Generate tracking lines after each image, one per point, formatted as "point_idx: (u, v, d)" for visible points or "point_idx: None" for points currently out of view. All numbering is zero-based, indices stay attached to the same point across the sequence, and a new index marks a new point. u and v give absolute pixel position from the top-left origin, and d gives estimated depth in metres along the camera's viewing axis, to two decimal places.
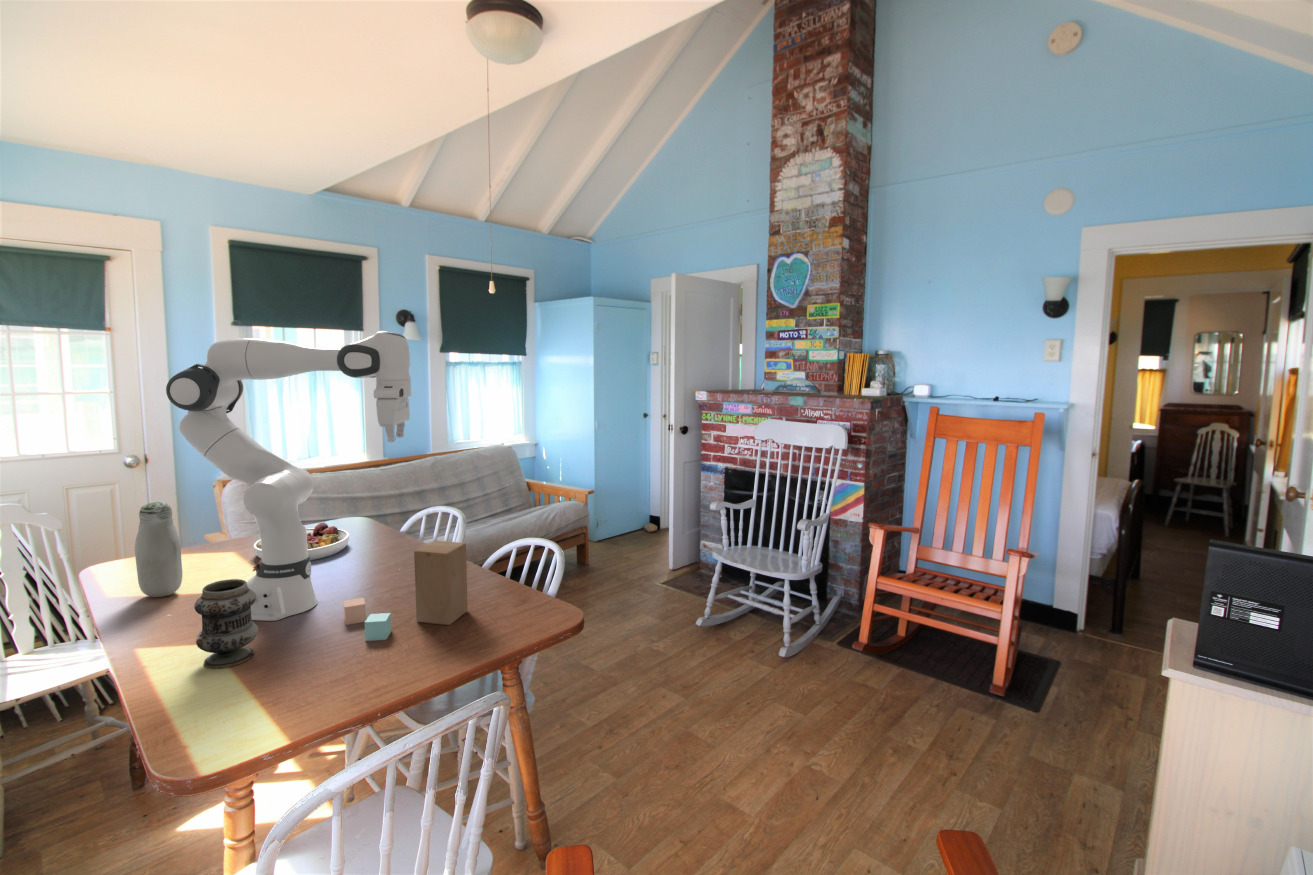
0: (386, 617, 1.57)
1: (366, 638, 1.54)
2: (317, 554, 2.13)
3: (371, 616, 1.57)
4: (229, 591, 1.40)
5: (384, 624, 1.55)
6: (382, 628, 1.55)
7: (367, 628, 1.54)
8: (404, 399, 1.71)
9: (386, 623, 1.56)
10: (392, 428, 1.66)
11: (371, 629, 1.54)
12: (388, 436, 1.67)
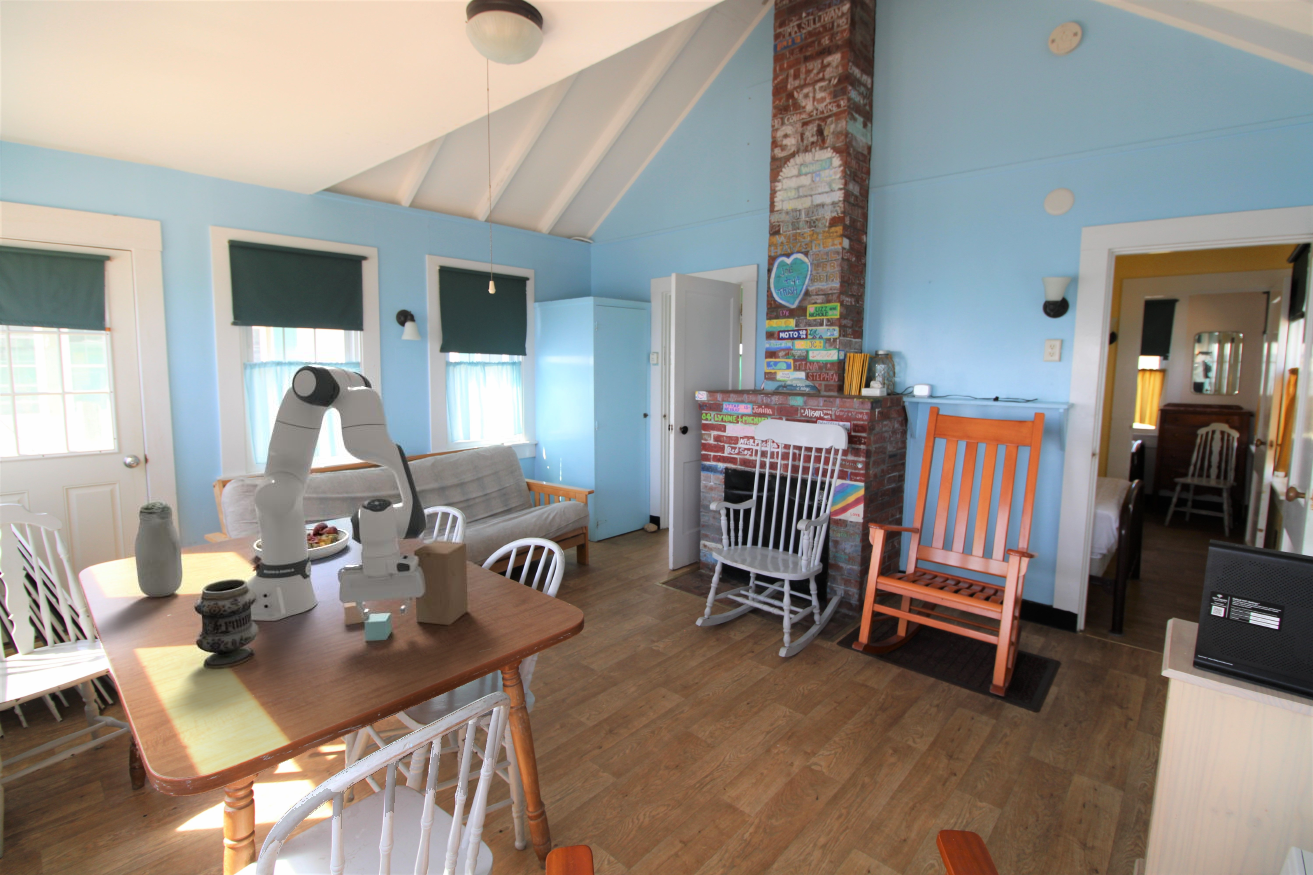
0: (386, 617, 1.57)
1: (366, 638, 1.54)
2: (317, 554, 2.13)
3: (371, 616, 1.57)
4: (229, 591, 1.40)
5: (384, 624, 1.55)
6: (382, 628, 1.55)
7: (367, 628, 1.54)
8: None
9: (386, 623, 1.56)
10: (411, 597, 1.60)
11: (371, 629, 1.54)
12: (407, 608, 1.58)
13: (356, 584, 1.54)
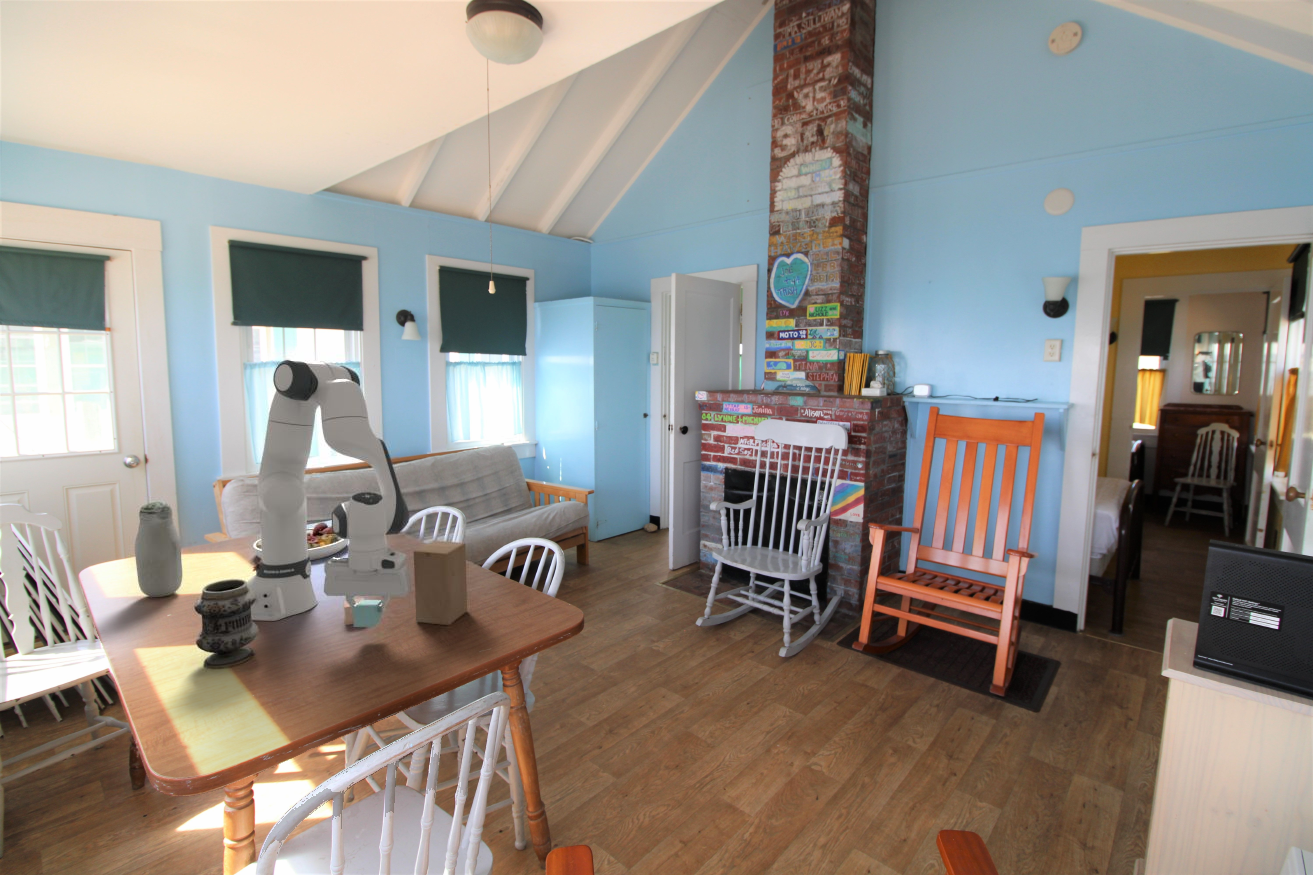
0: (376, 604, 1.54)
1: (354, 624, 1.52)
2: (317, 554, 2.13)
3: (361, 602, 1.55)
4: (229, 591, 1.40)
5: (373, 610, 1.52)
6: (371, 614, 1.52)
7: (356, 614, 1.51)
8: None
9: (375, 610, 1.53)
10: (390, 595, 1.55)
11: (360, 615, 1.52)
12: (384, 606, 1.54)
13: (341, 577, 1.51)
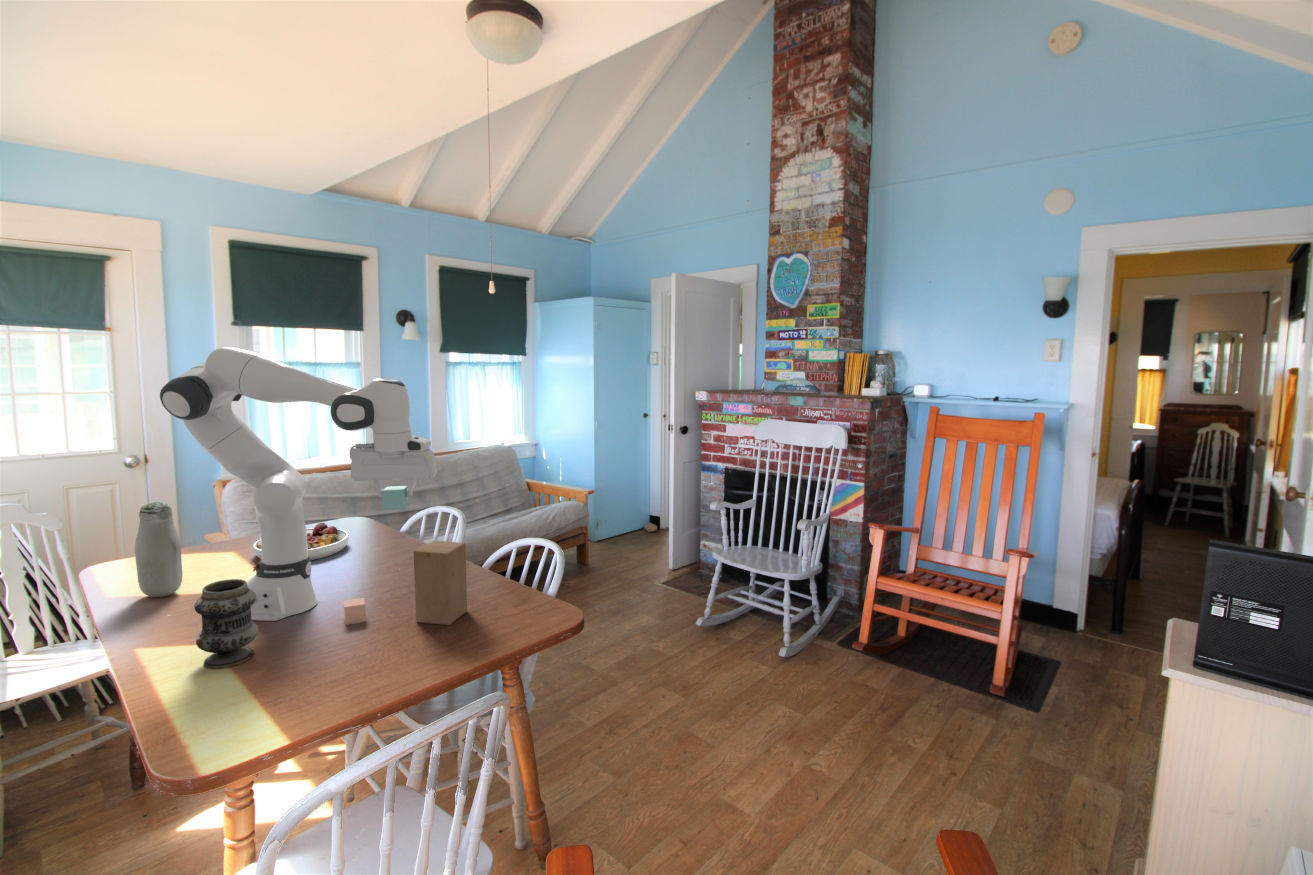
0: (403, 488, 1.56)
1: (383, 507, 1.54)
2: (317, 554, 2.13)
3: (388, 487, 1.57)
4: (229, 591, 1.40)
5: (401, 493, 1.54)
6: (399, 497, 1.54)
7: (384, 497, 1.53)
8: None
9: (403, 493, 1.55)
10: (416, 480, 1.58)
11: (388, 498, 1.54)
12: (411, 490, 1.56)
13: (367, 461, 1.53)
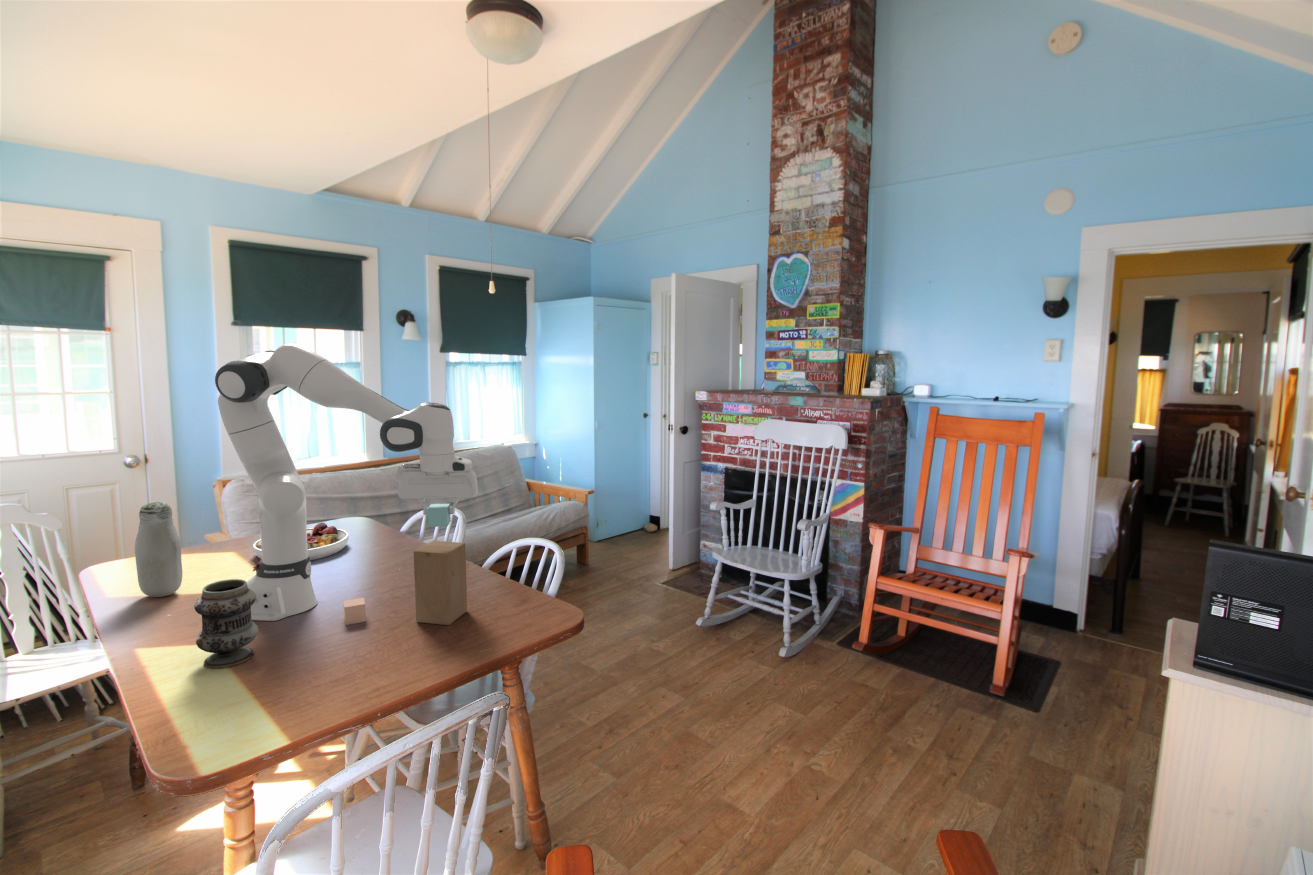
0: (446, 506, 1.65)
1: (428, 524, 1.63)
2: (317, 554, 2.13)
3: (432, 505, 1.66)
4: (229, 591, 1.40)
5: (445, 511, 1.63)
6: (443, 515, 1.63)
7: (429, 514, 1.63)
8: None
9: (447, 511, 1.64)
10: (458, 498, 1.67)
11: (433, 515, 1.63)
12: (454, 508, 1.66)
13: (414, 481, 1.62)
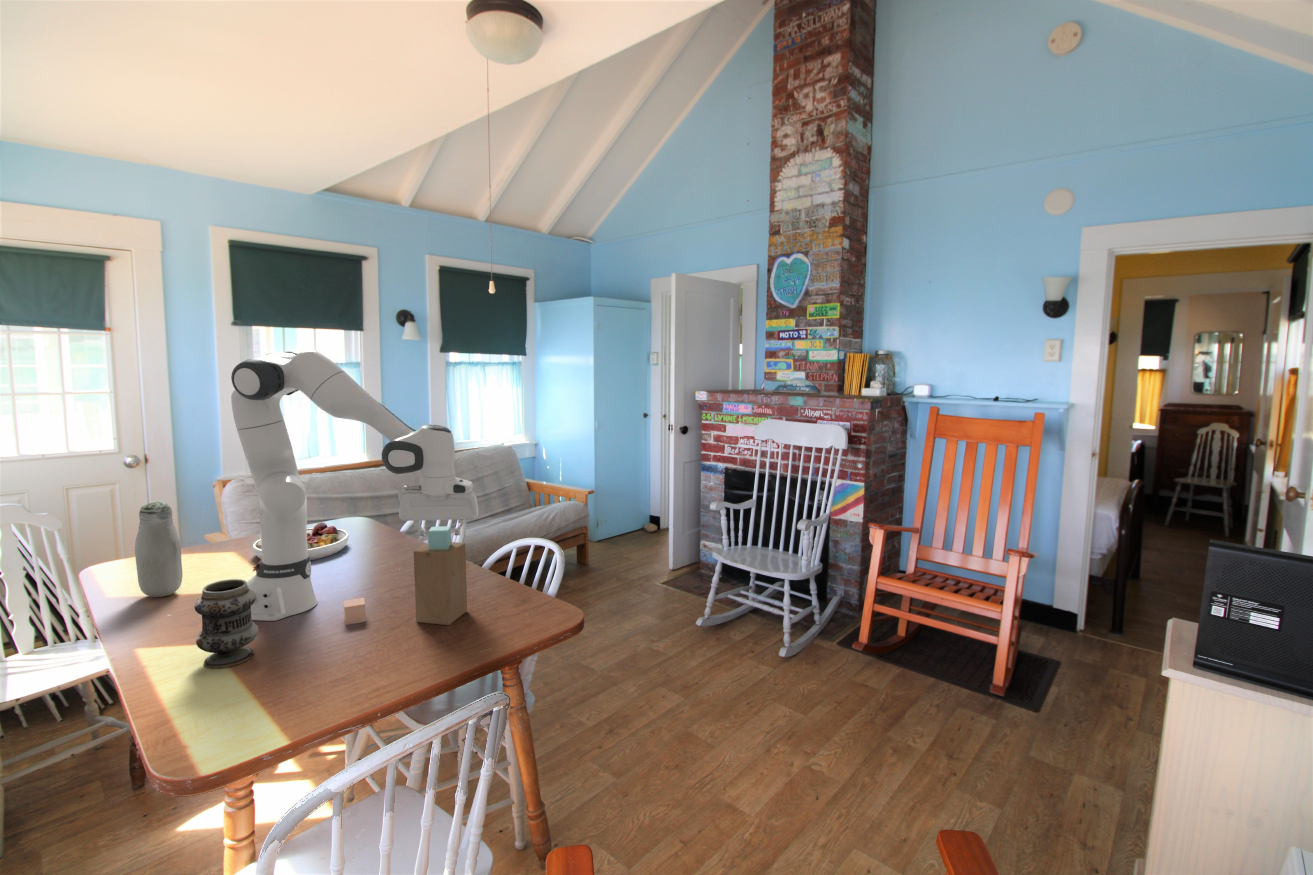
0: (447, 529, 1.66)
1: (429, 547, 1.64)
2: (317, 554, 2.13)
3: (433, 528, 1.66)
4: (229, 591, 1.40)
5: (446, 534, 1.64)
6: (444, 538, 1.64)
7: (430, 538, 1.63)
8: None
9: (448, 534, 1.65)
10: (464, 520, 1.68)
11: (434, 538, 1.64)
12: (460, 529, 1.67)
13: (415, 503, 1.63)
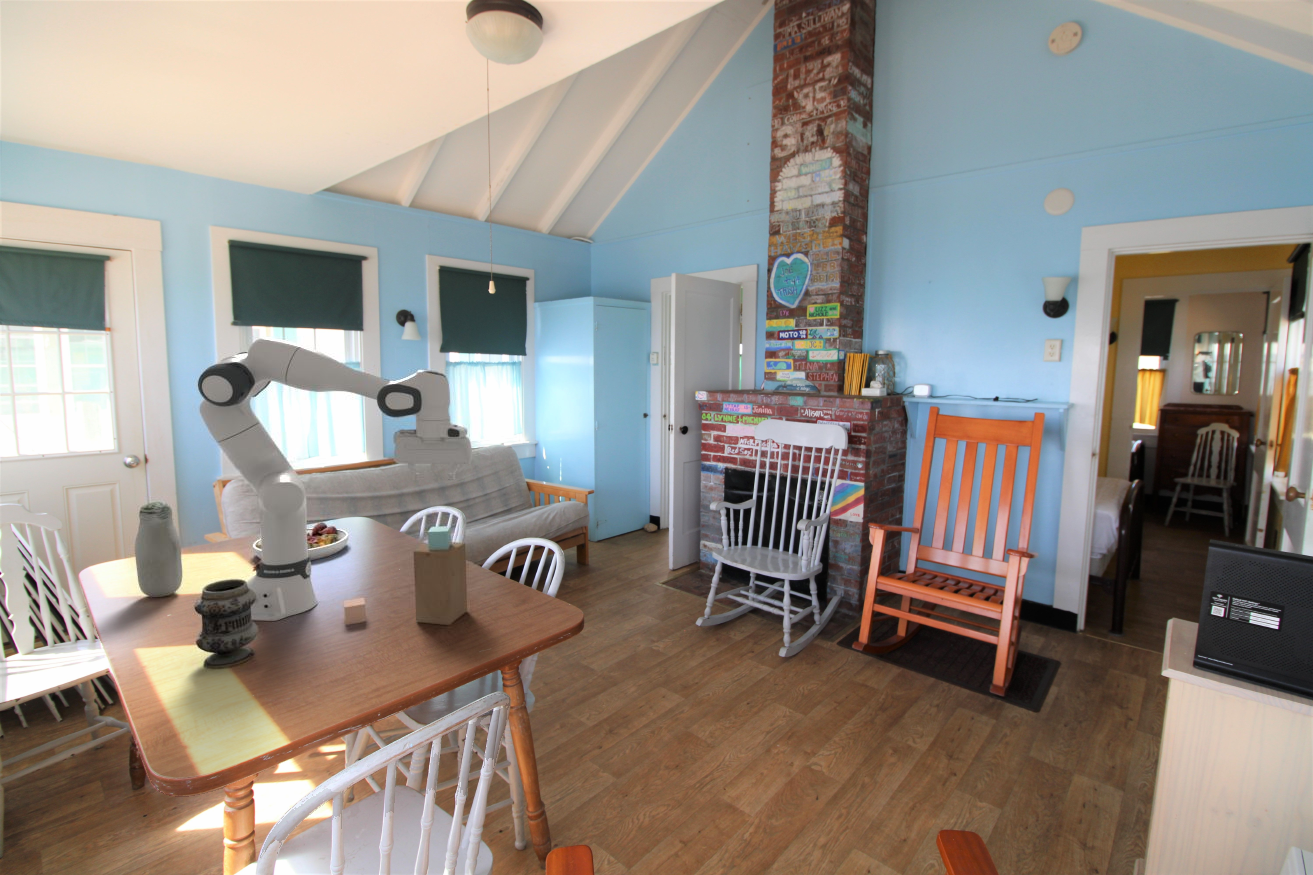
0: (447, 529, 1.66)
1: (429, 547, 1.64)
2: (317, 554, 2.13)
3: (433, 528, 1.66)
4: (229, 591, 1.40)
5: (446, 534, 1.64)
6: (444, 538, 1.64)
7: (430, 538, 1.63)
8: None
9: (448, 534, 1.65)
10: (458, 465, 1.71)
11: (434, 538, 1.64)
12: (454, 474, 1.69)
13: (410, 446, 1.66)
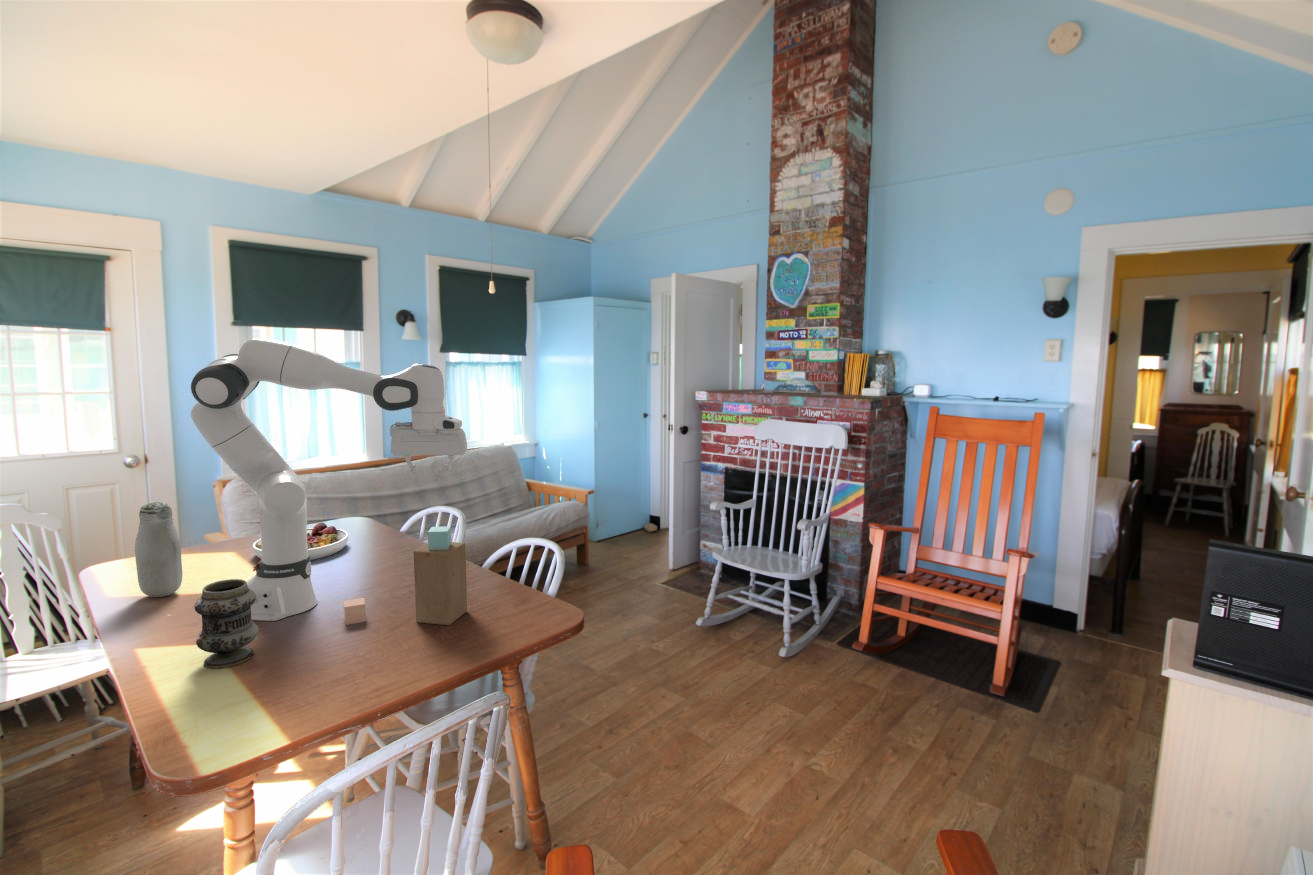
0: (447, 529, 1.66)
1: (429, 547, 1.64)
2: (316, 554, 2.13)
3: (433, 528, 1.66)
4: (229, 591, 1.40)
5: (446, 534, 1.64)
6: (444, 538, 1.64)
7: (430, 538, 1.63)
8: None
9: (447, 534, 1.65)
10: (454, 456, 1.75)
11: (434, 539, 1.64)
12: (450, 465, 1.74)
13: (406, 438, 1.70)
